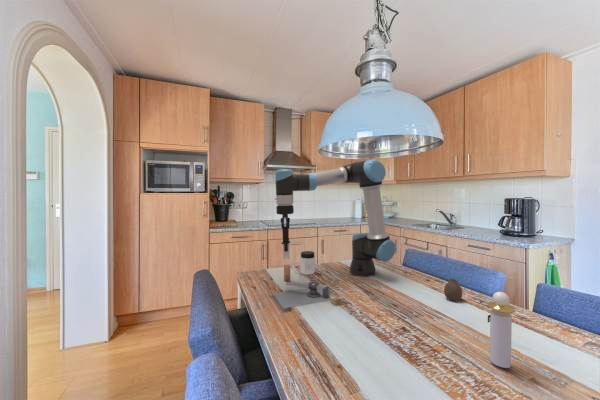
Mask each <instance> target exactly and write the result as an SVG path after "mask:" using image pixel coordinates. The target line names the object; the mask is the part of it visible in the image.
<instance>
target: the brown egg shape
mask: <svg viewBox="0 0 600 400" xmlns="http://www.w3.org/2000/svg"><path fill="white" fill-rule="evenodd" d="M443 292H444V296H445V298H446V299H447V300H448V299H449V301H450V300H452V301H451V302H459V301H460V300H461V299H462V298H463V288H462V286H461V285H460V284H459V283H458V281H457V279H455V278H450V279H449V281H448V282H447V283H446V284H445V286H444V290H443Z"/></svg>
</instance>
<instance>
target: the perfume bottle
mask: <svg viewBox="0 0 600 400" xmlns="http://www.w3.org/2000/svg"><path fill="white" fill-rule="evenodd" d="M487 307H488V308H489V309H491V310H490V311H489V312H490V314H489V315H487V323H489V324H490V325H489V327H490V328H489V329H490V330H489V361H490V362H491V363H492V364H494V365H495V366H497V367H499V368H503V369H509V368H511V367H512V332H513V331H512V330H513V329H512V326H513V325H512V323H513V322H512V319H513V317H512V314H513V313H515V312H516V310H515V307H514V306H512V305H510V297H509V295H508V294H507V293H506V292H503V291H495V292H494V294H493V295H492V301H489V302H487Z"/></svg>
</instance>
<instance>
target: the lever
mask: <svg viewBox="0 0 600 400" xmlns="http://www.w3.org/2000/svg"><path fill="white" fill-rule="evenodd" d="M283 282H284V283H285V284H286V285H287V286H293V287H297V288H298V287H299V288H303V289H304V288H309V289H312V290H315V289H318V290H323V296H325V297H328V296H329V295H330V292H331V287H330V286H328V285H327V284H321V283H320V284H319V282H318V281H309V282H305V281H298V280H291V265H290V264H285V265H283Z"/></svg>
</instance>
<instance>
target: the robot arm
mask: <svg viewBox="0 0 600 400" xmlns="http://www.w3.org/2000/svg"><path fill="white" fill-rule="evenodd" d="M386 173H387V172H386V168H385V165H384V164H383V162H381V161H380V160H377V159H366V160H362V161H361V160H360V161H355V162H351V163H350V164H345V165H342V166H341V165H340V166H338V167H337V168H334V169H328V170H321V171H313V172H309V173H302V174H301V173H300V174H295V173H293V170H292V169H289V168H288V169H287V168H286V169H285V168H283V169H277V170H276V171H275V174H274V175H275V176H274V177H275V179H274V181H275V197H274V200H275V203H276V206H275V207H276V208H275V209H276V214H277V215H282V217H281V218H280V224H281V229H282V242H281V245H282V251H283V252H282V257H283V258H282V259H283V260H285V259H286V260H288V259H290V243H291V240H290V237H289V236H290V235H289V234H290V233H289V232H290V230H289V229H290V222H291V218H290V217H289V215H293V214H294V212H295V211H294V210H295V209H294V208H295V207H294V205H293V204H294V192H310V191H311V192H312V191H315V190H316V189H317V187H321V186H322V187H323V186H326V185H327V186H328V185H332V184H333V185H334V184H338V183H340V184H341V185H342V184H358V185H359V188H360V189H361V190H362V192H363V193H362V194H363V199H364V205H365V213H366V219H367V227H368V232H363V233H355V234H353V235H352V240H351V243H352V244H351V247H352V249H351V251H352V253H351V254H352V259H351V262H350V265H349V268H348V269H349V273H350V274H351V275H354V276H360V277H371V276H375V275H376V273H377V272H376V271H377V270H376V269H377V268H376V267H375V266H376V265H375V262H374V260H377V261H381V262H388V261H390V260H392V259H393V257H394V256H395V253H396V250H397V248H396V247H397V246H396V243H395V242H394V241H393V240H391V238H390V233H388V232H387V230H386V225H385V223H386V222H385V217H384V209H383V201H382V195H381V187H382V185H383V181H384V179H385V177H386V176H387V175H386Z"/></svg>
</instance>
